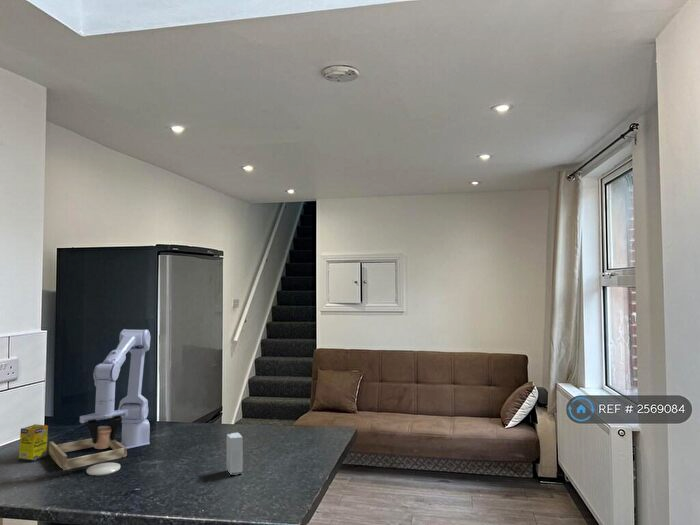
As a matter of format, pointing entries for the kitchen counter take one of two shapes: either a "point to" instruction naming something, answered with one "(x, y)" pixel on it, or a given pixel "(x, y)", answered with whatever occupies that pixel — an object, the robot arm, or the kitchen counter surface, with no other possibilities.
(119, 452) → the frame
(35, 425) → the supplement box
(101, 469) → the saucer
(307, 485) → the kitchen counter surface
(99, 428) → the peach drawer knob
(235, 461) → the skincare box
